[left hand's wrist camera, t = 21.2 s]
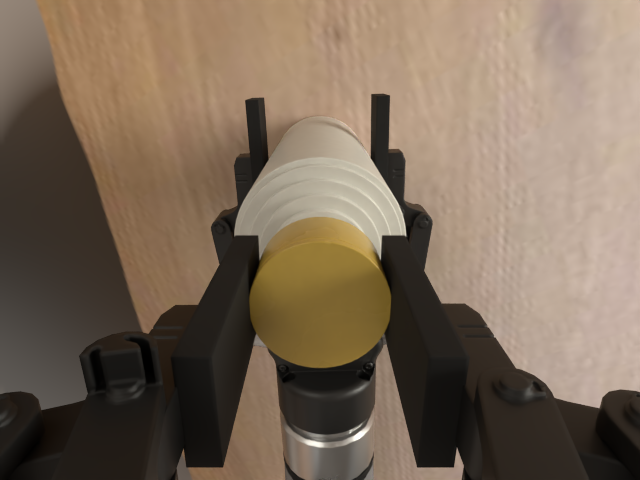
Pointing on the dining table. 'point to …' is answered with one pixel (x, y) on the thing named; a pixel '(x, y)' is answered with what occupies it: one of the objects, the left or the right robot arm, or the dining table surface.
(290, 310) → the cap
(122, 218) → the dining table surface
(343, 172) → the bottle
